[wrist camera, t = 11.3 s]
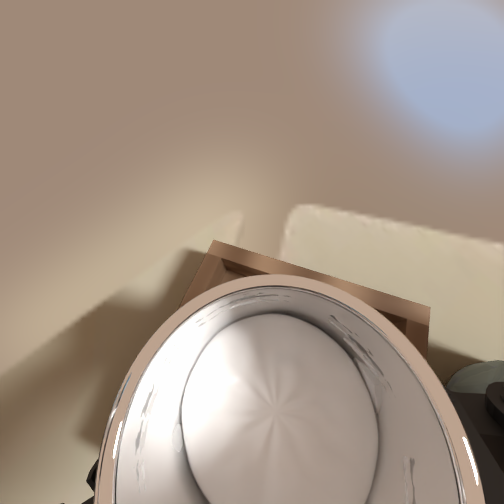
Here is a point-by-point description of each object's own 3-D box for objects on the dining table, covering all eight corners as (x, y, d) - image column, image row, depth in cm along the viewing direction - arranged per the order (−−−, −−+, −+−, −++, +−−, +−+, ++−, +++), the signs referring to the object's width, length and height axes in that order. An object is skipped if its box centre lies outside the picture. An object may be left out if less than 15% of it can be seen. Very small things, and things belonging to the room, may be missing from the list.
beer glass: (264, 320, 20) (240, 218, 6) (341, 377, 17) (560, 402, 4) (211, 398, 17) (2, 490, 4) (290, 474, 15) (395, 1244, 2)
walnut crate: (125, 457, 19) (90, 477, 15) (222, 257, 26) (213, 239, 23) (370, 611, 14) (401, 691, 11) (405, 317, 22) (430, 307, 18)
